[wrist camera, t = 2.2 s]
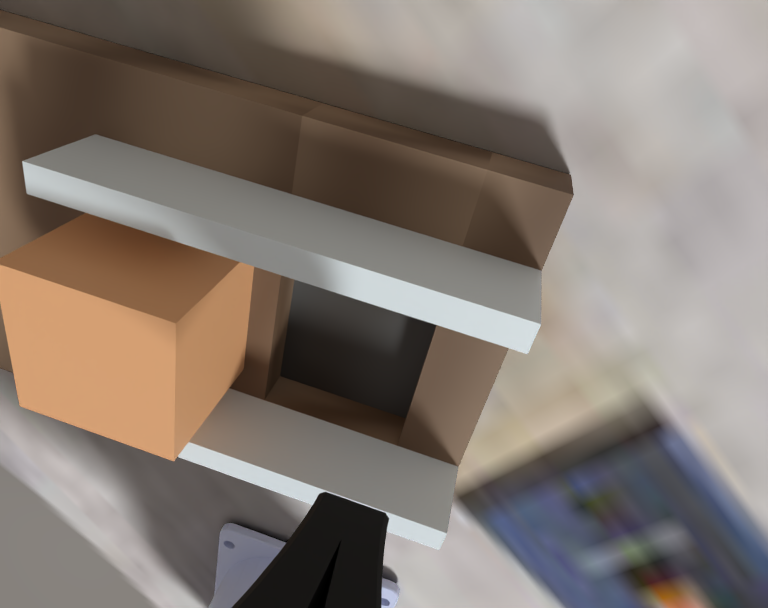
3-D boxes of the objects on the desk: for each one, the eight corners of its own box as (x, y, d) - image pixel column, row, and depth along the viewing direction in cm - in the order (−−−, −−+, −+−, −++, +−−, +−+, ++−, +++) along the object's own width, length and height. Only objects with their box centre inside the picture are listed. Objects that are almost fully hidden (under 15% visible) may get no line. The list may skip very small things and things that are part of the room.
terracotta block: (243, 369, 18) (174, 461, 14) (116, 325, 18) (19, 406, 15) (256, 246, 15) (176, 323, 12) (109, 200, 16) (-8, 262, 12)
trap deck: (570, 174, 14) (573, 195, 13) (442, 487, 20) (435, 521, 19) (-103, -20, 16) (-158, -19, 14) (-25, 326, 22) (-60, 347, 21)
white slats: (541, 270, 14) (541, 324, 12) (451, 483, 18) (439, 550, 16) (95, 134, 15) (22, 160, 13) (110, 365, 19) (57, 413, 17)
